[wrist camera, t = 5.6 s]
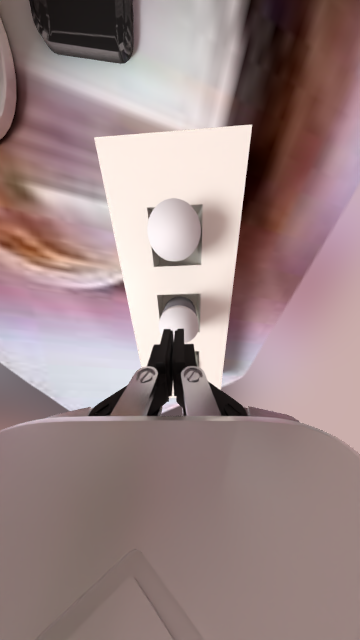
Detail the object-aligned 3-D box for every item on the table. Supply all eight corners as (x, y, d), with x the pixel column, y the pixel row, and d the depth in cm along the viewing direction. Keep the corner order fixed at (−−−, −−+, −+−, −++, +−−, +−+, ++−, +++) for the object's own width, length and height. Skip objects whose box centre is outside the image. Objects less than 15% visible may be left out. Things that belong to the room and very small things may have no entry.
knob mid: (162, 296, 17) (156, 308, 13) (195, 295, 17) (199, 307, 13) (165, 325, 18) (160, 344, 14) (195, 325, 18) (198, 343, 14)
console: (121, 173, 15) (94, 137, 11) (230, 166, 15) (252, 124, 10) (153, 374, 28) (147, 397, 23) (213, 374, 27) (219, 397, 22)
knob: (155, 217, 13) (143, 200, 9) (196, 214, 13) (201, 196, 9) (159, 261, 15) (150, 262, 11) (195, 259, 15) (200, 260, 11)
